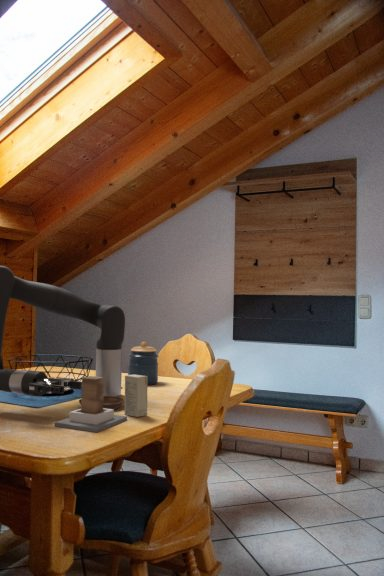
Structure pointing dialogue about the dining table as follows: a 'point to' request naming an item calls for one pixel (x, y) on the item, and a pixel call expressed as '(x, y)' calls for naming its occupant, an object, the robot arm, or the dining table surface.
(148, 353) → the canister
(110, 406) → the saucer
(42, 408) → the dining table surface
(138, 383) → the skincare box
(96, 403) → the walnut square peg
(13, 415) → the dining table surface
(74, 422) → the collar holder
